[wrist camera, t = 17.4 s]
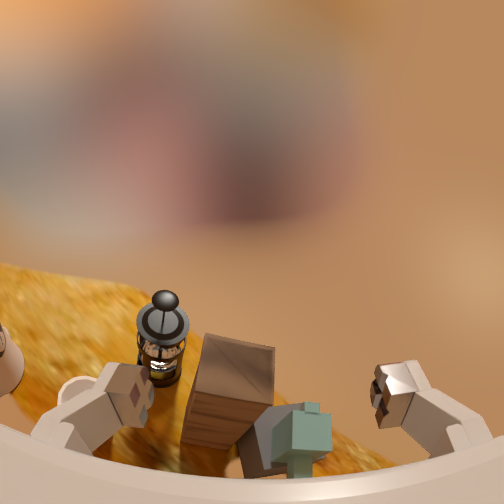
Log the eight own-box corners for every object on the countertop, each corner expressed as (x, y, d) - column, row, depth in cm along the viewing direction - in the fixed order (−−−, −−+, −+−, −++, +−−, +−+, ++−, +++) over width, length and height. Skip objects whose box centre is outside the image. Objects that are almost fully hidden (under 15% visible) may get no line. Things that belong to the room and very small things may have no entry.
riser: (244, 479, 49) (264, 469, 41) (234, 428, 56) (250, 408, 49) (298, 470, 52) (326, 457, 44) (285, 423, 60) (309, 401, 52)
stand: (228, 450, 52) (273, 404, 36) (178, 441, 51) (194, 390, 35) (232, 412, 59) (275, 347, 43) (185, 402, 58) (205, 332, 42)
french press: (162, 399, 57) (169, 339, 43) (125, 372, 59) (119, 303, 44) (194, 359, 66) (213, 290, 51) (159, 336, 68) (166, 262, 53)
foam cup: (87, 395, 52) (75, 366, 44) (128, 417, 52) (124, 392, 44) (66, 434, 45) (47, 411, 36) (109, 457, 45) (98, 441, 36)
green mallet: (304, 514, 36) (332, 509, 30) (267, 513, 35) (289, 510, 30) (306, 423, 49) (330, 404, 43) (272, 420, 48) (292, 400, 42)
